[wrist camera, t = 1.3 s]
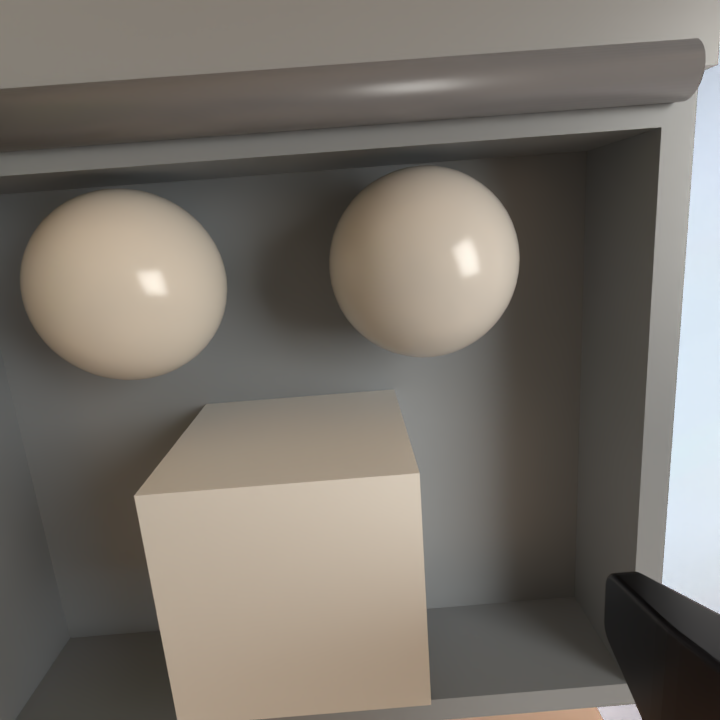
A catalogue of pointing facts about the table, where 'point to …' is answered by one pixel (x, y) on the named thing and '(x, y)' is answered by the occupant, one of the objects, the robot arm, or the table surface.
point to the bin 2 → (547, 715)
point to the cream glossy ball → (424, 261)
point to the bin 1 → (332, 329)
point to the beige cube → (289, 559)
